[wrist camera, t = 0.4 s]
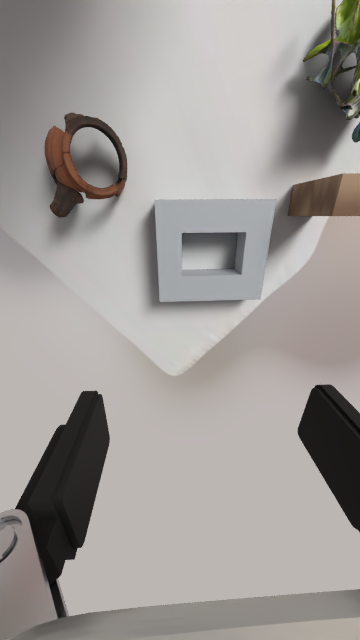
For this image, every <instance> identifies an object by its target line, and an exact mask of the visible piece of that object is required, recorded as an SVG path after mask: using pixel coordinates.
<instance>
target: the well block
mask: <svg viewBox="0 0 360 640" xmlns="http://www.w3.org/2000/svg"><path fill="white" fill-rule="evenodd" d="M154 201H155V220H156V240H157V260H158V280H159V300H160V302H176V301H215V300H254V299H260V298H261V292H262V286H263V280H264V274H265V267H266V261H267V255H268V249H269V242H270V236H271V230H272V224H273V217H274V211H275V205H276V199H211V200H154ZM214 232H238V236H237V246H236V256H235V266H234V269H207V270H182V233H214Z"/></svg>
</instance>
